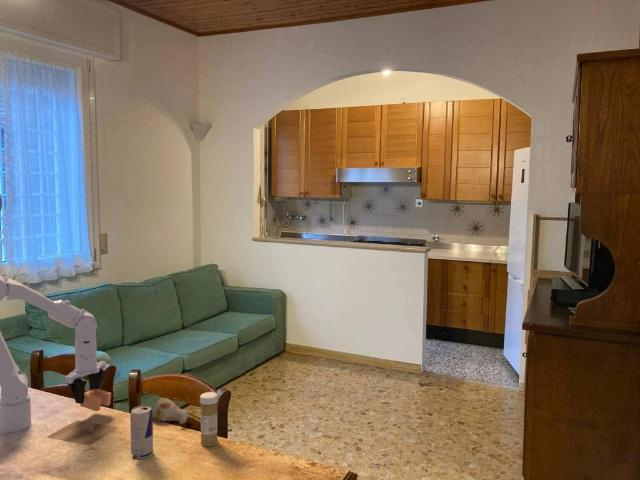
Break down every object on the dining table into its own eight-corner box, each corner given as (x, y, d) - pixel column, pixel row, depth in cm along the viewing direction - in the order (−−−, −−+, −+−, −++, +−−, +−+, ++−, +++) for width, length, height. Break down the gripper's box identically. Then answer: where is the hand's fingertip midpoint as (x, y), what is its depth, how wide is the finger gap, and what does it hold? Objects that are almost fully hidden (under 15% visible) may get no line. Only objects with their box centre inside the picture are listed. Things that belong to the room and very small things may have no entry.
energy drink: (157, 451, 131) (157, 406, 130) (143, 461, 126) (143, 415, 125) (140, 448, 133) (139, 403, 132) (126, 458, 128) (125, 411, 127)
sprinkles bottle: (215, 438, 139) (215, 390, 138) (219, 445, 135) (219, 396, 134) (198, 440, 138) (198, 392, 136) (201, 448, 133) (201, 398, 132)
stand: (46, 442, 135) (46, 422, 135) (77, 425, 146) (76, 406, 145) (89, 450, 131) (89, 430, 131) (118, 432, 142) (118, 413, 141)
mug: (185, 429, 145) (166, 402, 143) (159, 439, 148) (141, 412, 146) (196, 413, 152) (178, 386, 150) (171, 422, 155) (154, 396, 153)
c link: (80, 406, 147) (81, 394, 147) (94, 399, 152) (95, 387, 152) (96, 411, 145) (97, 399, 145) (110, 404, 151) (111, 392, 150)
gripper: (78, 363, 141) (79, 410, 142) (114, 348, 154) (115, 391, 156) (58, 360, 143) (59, 407, 144) (95, 346, 156) (96, 389, 158)
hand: (87, 399), depth 150 cm, fingers closed on c link, 5 cm apart
